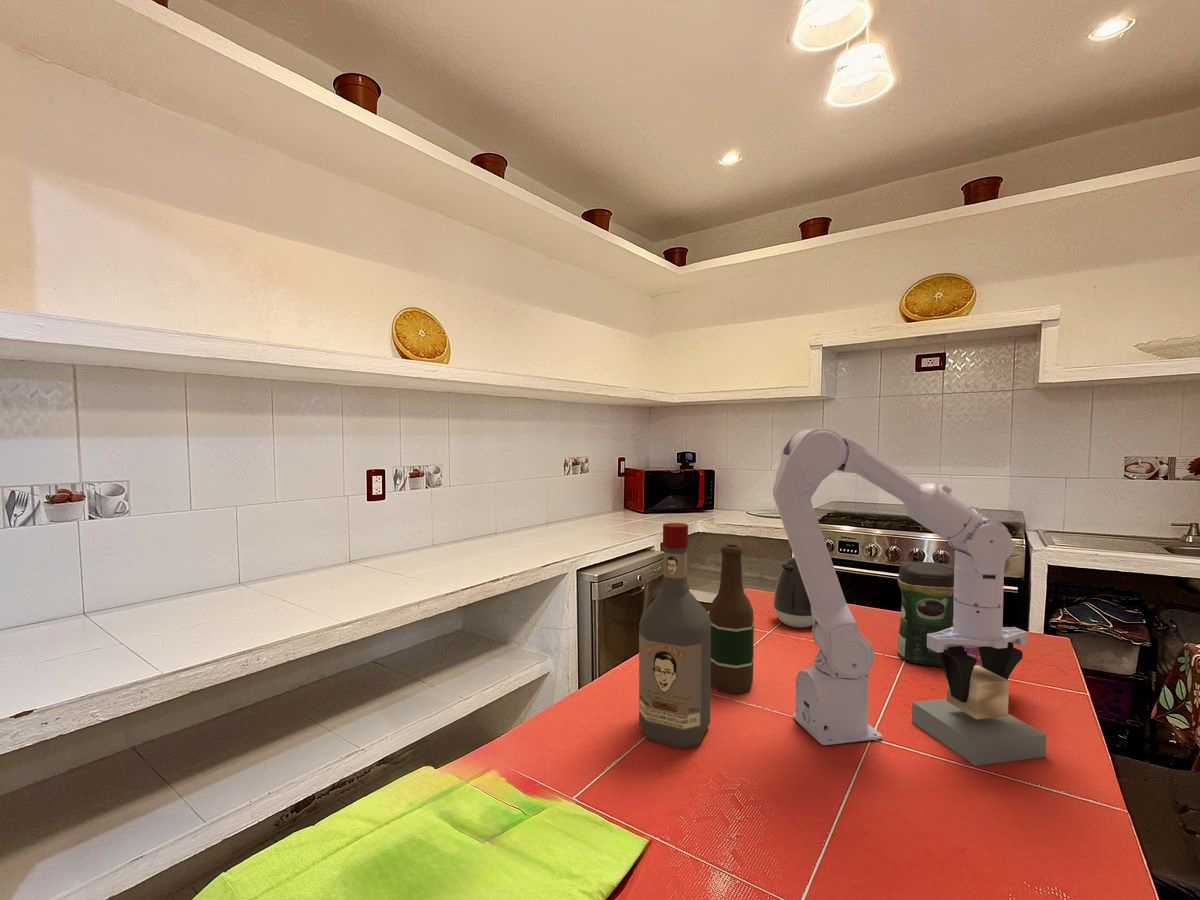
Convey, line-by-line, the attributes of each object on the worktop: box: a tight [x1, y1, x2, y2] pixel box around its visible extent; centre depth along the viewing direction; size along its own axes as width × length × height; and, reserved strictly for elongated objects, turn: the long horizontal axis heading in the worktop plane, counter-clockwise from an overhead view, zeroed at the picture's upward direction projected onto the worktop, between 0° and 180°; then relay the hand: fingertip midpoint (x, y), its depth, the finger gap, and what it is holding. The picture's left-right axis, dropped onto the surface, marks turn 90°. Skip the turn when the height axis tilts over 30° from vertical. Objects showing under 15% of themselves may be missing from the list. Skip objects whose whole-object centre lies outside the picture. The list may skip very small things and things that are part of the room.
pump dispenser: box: [772, 556, 813, 629], centre depth 123 cm, size 10×10×15 cm
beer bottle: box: [708, 543, 755, 695], centre depth 93 cm, size 8×8×24 cm
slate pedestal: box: [911, 698, 1047, 767], centre depth 77 cm, size 11×11×3 cm
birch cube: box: [946, 665, 1010, 719], centre depth 77 cm, size 5×5×5 cm
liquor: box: [638, 522, 712, 749], centre depth 79 cm, size 9×9×30 cm
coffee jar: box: [897, 560, 954, 667], centre depth 104 cm, size 10×8×19 cm
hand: (975, 697), depth 77 cm, fingers closed on birch cube, 5 cm apart
